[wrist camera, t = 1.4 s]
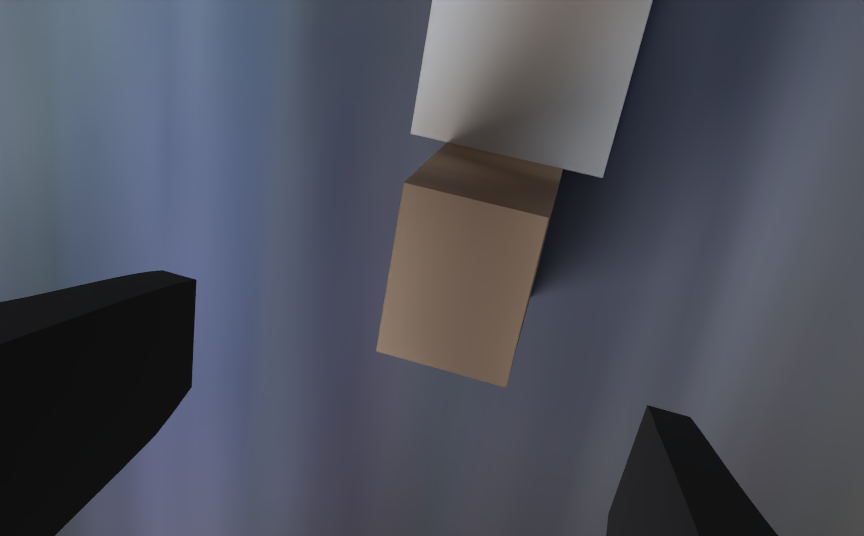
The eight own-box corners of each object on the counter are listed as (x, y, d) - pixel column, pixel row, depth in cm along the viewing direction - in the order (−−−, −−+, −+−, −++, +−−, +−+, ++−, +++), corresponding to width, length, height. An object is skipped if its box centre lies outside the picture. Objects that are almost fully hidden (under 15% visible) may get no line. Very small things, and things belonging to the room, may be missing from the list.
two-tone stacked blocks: (395, 262, 21) (334, 339, 16) (477, -223, 16) (422, -305, 11) (564, 306, 20) (550, 400, 15) (703, -188, 15) (741, -263, 11)
